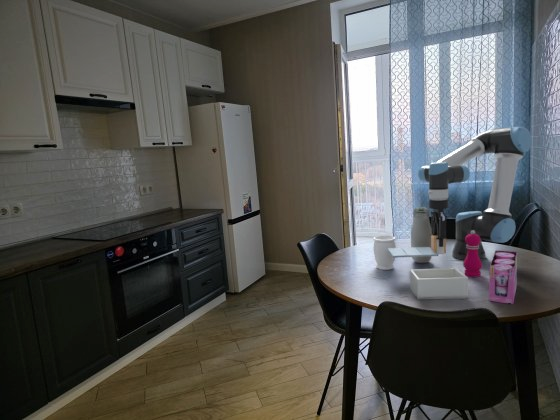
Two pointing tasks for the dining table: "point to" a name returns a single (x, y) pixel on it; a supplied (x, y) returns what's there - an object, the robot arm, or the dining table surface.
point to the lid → (417, 250)
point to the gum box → (503, 277)
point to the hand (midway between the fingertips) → (438, 252)
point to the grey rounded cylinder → (421, 232)
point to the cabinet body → (438, 283)
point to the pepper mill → (472, 255)
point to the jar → (384, 252)
